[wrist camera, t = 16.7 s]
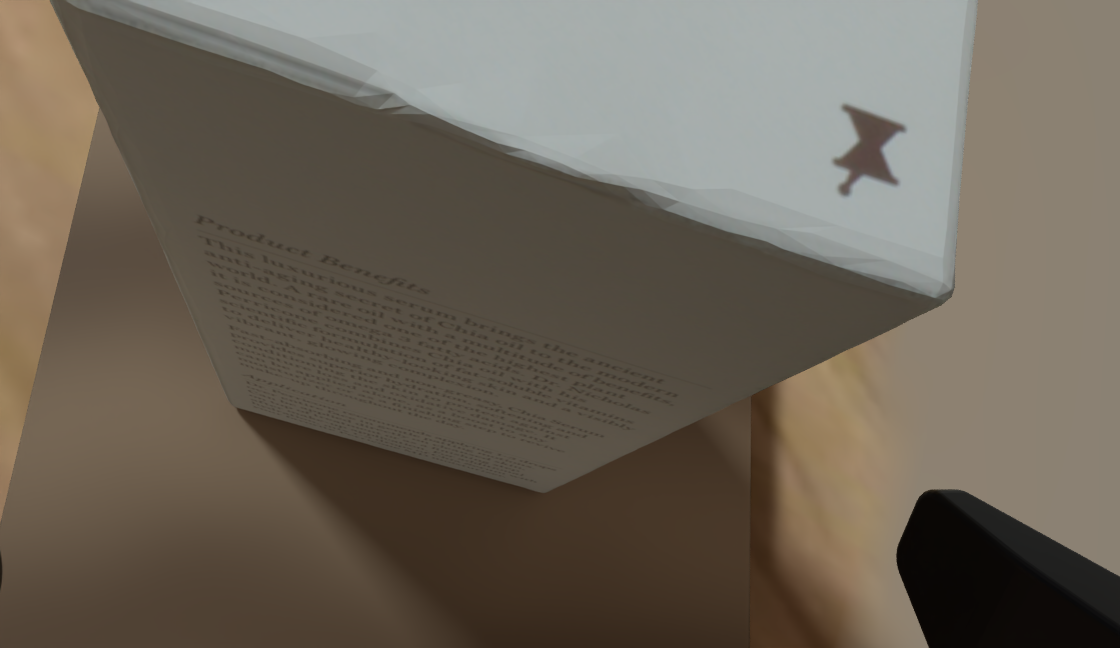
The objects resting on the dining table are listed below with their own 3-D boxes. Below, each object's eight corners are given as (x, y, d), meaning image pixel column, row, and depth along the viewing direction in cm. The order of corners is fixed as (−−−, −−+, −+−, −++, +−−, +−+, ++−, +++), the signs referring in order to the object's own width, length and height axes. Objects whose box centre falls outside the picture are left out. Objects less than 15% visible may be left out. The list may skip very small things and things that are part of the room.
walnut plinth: (705, 707, 19) (748, 719, 17) (1, 673, 16) (-39, 684, 14) (716, 134, 23) (753, 93, 21) (149, 24, 20) (133, -35, 18)
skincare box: (595, 289, 19) (1024, -163, 7) (545, 498, 17) (980, 327, 6) (294, 192, 18) (270, -500, 6) (215, 406, 16) (8, -2, 5)
